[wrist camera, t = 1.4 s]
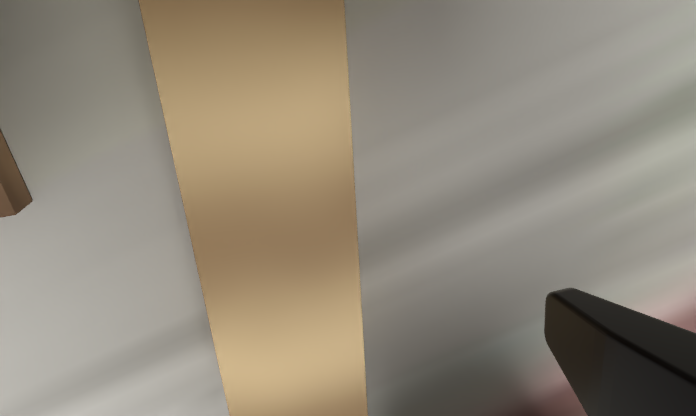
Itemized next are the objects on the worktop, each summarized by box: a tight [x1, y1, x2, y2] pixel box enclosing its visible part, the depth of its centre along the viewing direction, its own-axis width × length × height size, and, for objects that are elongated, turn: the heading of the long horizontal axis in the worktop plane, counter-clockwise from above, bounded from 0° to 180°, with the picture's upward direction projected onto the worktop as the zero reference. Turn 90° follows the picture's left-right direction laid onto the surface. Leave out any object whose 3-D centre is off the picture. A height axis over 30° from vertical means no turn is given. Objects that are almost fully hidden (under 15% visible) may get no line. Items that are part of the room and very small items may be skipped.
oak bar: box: [138, 0, 368, 416], centre depth 13 cm, size 16×4×4 cm, turn 3°
